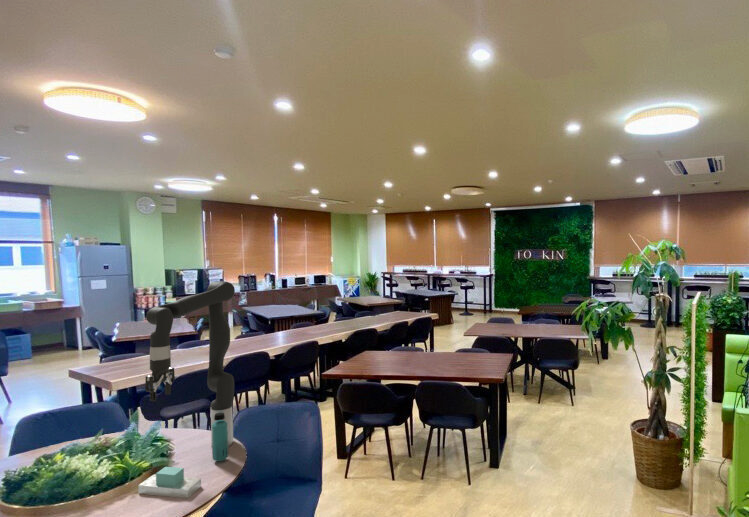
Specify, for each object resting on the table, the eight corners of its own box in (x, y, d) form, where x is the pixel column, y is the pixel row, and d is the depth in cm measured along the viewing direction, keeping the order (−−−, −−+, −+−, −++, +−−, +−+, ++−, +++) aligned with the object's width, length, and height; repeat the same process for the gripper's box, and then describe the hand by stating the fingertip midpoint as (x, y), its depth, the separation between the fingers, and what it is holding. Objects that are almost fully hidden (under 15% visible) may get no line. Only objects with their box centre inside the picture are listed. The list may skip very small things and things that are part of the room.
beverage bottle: (223, 465, 175) (222, 416, 175) (208, 463, 176) (208, 415, 176) (231, 458, 181) (230, 411, 181) (217, 456, 182) (216, 410, 183)
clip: (156, 491, 154) (156, 473, 155) (165, 483, 160) (165, 466, 160) (174, 493, 153) (174, 475, 153) (183, 485, 158) (183, 468, 158)
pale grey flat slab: (153, 482, 162) (153, 474, 162) (200, 486, 158) (200, 478, 158) (138, 493, 154) (138, 485, 154) (187, 498, 150) (187, 489, 150)
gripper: (163, 353, 177) (164, 391, 177) (139, 361, 163) (139, 403, 163) (179, 353, 176) (180, 392, 176) (156, 361, 162) (156, 404, 162)
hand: (160, 397), depth 169 cm, fingers open, 8 cm apart
